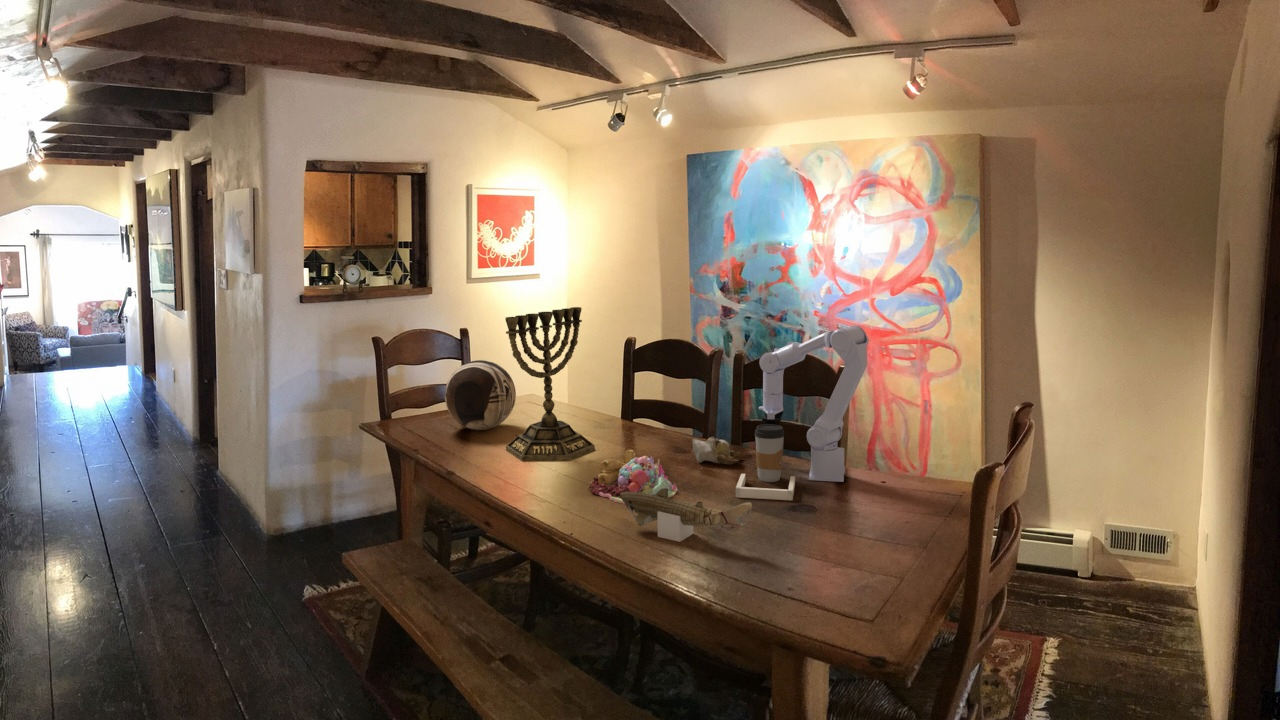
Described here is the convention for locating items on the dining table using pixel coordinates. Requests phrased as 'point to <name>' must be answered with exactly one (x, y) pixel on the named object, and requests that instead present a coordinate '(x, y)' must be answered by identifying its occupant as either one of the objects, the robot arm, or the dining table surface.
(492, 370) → the sphere
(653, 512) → the wood carving
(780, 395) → the robot arm
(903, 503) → the dining table surface
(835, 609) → the dining table surface
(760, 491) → the dock
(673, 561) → the dining table surface
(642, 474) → the candy landscape model
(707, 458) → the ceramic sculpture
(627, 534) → the dining table surface
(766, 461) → the coffee cup
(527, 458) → the menorah
